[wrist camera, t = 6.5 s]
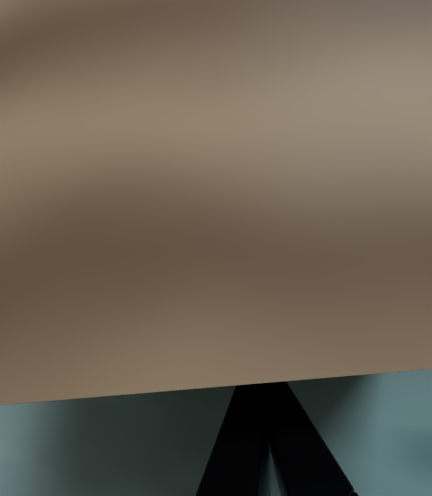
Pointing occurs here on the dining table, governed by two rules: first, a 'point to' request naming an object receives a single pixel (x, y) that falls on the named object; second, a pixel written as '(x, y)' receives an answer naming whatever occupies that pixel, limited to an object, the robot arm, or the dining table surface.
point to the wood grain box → (212, 193)
